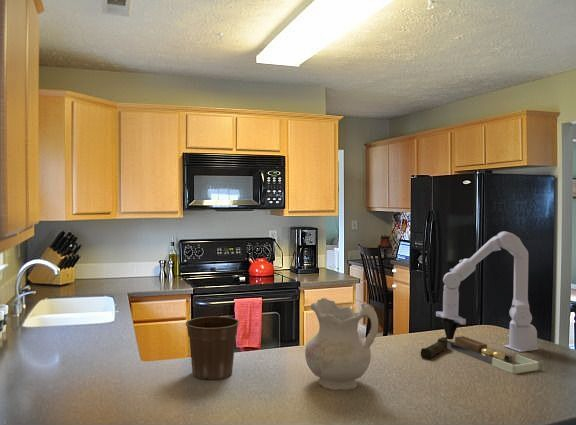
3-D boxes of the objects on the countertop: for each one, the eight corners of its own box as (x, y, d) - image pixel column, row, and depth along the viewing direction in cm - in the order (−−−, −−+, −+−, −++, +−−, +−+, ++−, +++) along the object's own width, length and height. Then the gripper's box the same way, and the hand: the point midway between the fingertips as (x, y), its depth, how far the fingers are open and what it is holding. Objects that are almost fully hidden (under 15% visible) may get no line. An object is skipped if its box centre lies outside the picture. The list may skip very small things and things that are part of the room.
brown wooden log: (430, 361, 178) (431, 347, 178) (420, 358, 180) (420, 345, 180) (453, 350, 192) (454, 337, 192) (443, 347, 195) (443, 335, 195)
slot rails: (462, 343, 200) (462, 338, 200) (512, 361, 178) (512, 356, 178) (444, 345, 197) (444, 340, 197) (492, 364, 175) (492, 358, 175)
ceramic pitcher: (383, 382, 158) (385, 300, 159) (372, 400, 139) (374, 306, 141) (314, 374, 165) (317, 295, 166) (295, 390, 146) (298, 300, 148)
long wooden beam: (463, 346, 197) (463, 336, 197) (486, 355, 186) (487, 344, 186) (454, 347, 195) (455, 337, 195) (478, 356, 184) (478, 345, 184)
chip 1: (487, 355, 185) (487, 347, 185) (495, 358, 181) (496, 350, 181) (478, 356, 184) (478, 348, 183) (487, 359, 180) (487, 351, 180)
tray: (516, 361, 178) (517, 354, 178) (539, 369, 170) (539, 362, 170) (492, 365, 173) (492, 357, 173) (513, 373, 165) (514, 365, 165)
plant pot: (174, 373, 159) (175, 321, 159) (215, 362, 171) (216, 313, 171) (207, 387, 148) (208, 330, 148) (249, 374, 160) (250, 322, 160)
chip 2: (498, 359, 181) (498, 350, 181) (507, 362, 178) (507, 353, 178) (489, 360, 180) (489, 351, 180) (498, 363, 176) (498, 354, 176)
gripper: (430, 300, 205) (429, 335, 205) (455, 308, 192) (454, 344, 192) (444, 299, 208) (443, 333, 208) (470, 306, 195) (469, 343, 195)
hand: (449, 338), depth 200 cm, fingers closed
